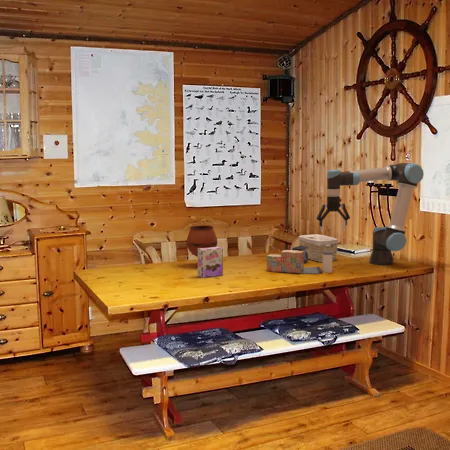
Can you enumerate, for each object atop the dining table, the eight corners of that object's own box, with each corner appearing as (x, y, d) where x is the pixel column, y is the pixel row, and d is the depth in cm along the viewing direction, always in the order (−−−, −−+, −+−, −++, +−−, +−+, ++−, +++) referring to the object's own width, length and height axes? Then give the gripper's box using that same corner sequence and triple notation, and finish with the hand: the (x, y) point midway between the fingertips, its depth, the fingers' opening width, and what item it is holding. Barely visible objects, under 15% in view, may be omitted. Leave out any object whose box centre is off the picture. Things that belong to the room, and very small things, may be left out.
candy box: (201, 278, 328) (201, 249, 326) (197, 276, 333) (197, 248, 331) (223, 275, 334) (223, 247, 332) (218, 273, 340) (218, 246, 337)
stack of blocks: (266, 271, 346) (266, 251, 344) (270, 269, 351) (269, 249, 350) (301, 273, 337) (300, 252, 335) (304, 271, 342) (303, 250, 341)
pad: (319, 268, 353) (319, 266, 353) (322, 274, 337) (322, 272, 337) (297, 268, 353) (297, 266, 353) (299, 274, 338) (299, 272, 337)
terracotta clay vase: (181, 267, 357) (181, 227, 353) (194, 262, 374) (194, 223, 371) (210, 270, 349) (209, 229, 346) (222, 264, 367) (221, 225, 364)
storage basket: (339, 260, 377) (339, 238, 375) (318, 263, 369) (319, 240, 367) (317, 254, 398) (317, 233, 396) (297, 257, 390) (297, 235, 388)
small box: (300, 265, 363) (300, 248, 362) (291, 263, 367) (291, 247, 366) (308, 262, 371) (308, 246, 370) (299, 261, 375) (300, 245, 374)
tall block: (330, 270, 348) (331, 250, 346) (332, 272, 342) (332, 252, 340) (322, 270, 348) (322, 250, 346) (323, 272, 342) (323, 252, 340)
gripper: (350, 194, 348) (350, 229, 351) (311, 196, 344) (311, 231, 346) (355, 195, 341) (355, 231, 344) (315, 197, 336) (315, 233, 339)
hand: (333, 231), depth 345 cm, fingers open, 13 cm apart
